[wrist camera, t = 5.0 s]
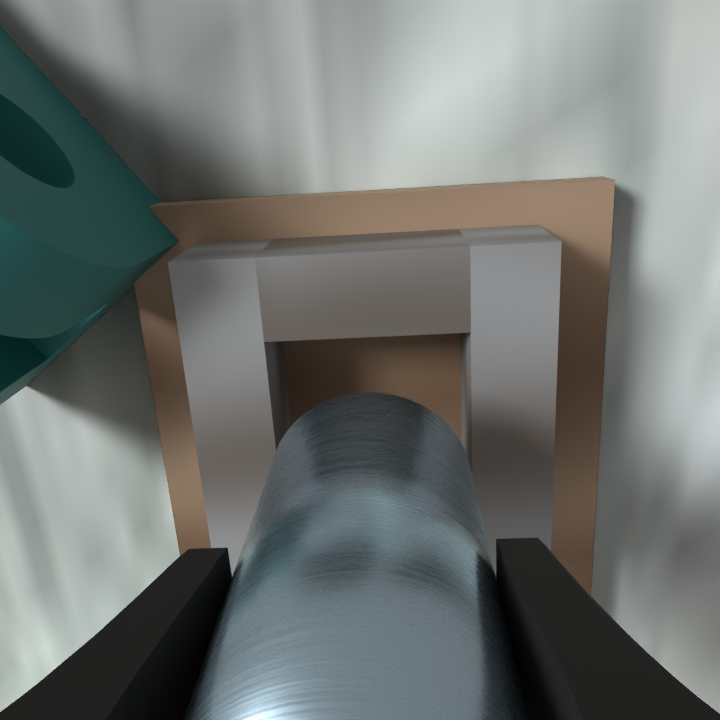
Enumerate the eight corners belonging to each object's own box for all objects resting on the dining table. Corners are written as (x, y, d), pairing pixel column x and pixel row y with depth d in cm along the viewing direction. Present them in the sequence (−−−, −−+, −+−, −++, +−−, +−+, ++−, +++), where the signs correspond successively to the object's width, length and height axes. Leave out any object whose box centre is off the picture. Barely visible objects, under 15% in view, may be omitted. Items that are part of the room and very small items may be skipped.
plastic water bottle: (514, 485, 14) (711, 1061, 5) (374, 604, 15) (353, 1239, 6) (366, 350, 13) (322, 777, 4) (229, 486, 14) (-12, 1035, 6)
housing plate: (135, 203, 18) (78, 222, 15) (602, 176, 17) (653, 189, 14) (235, 817, 25) (211, 922, 22) (569, 815, 25) (597, 923, 21)
